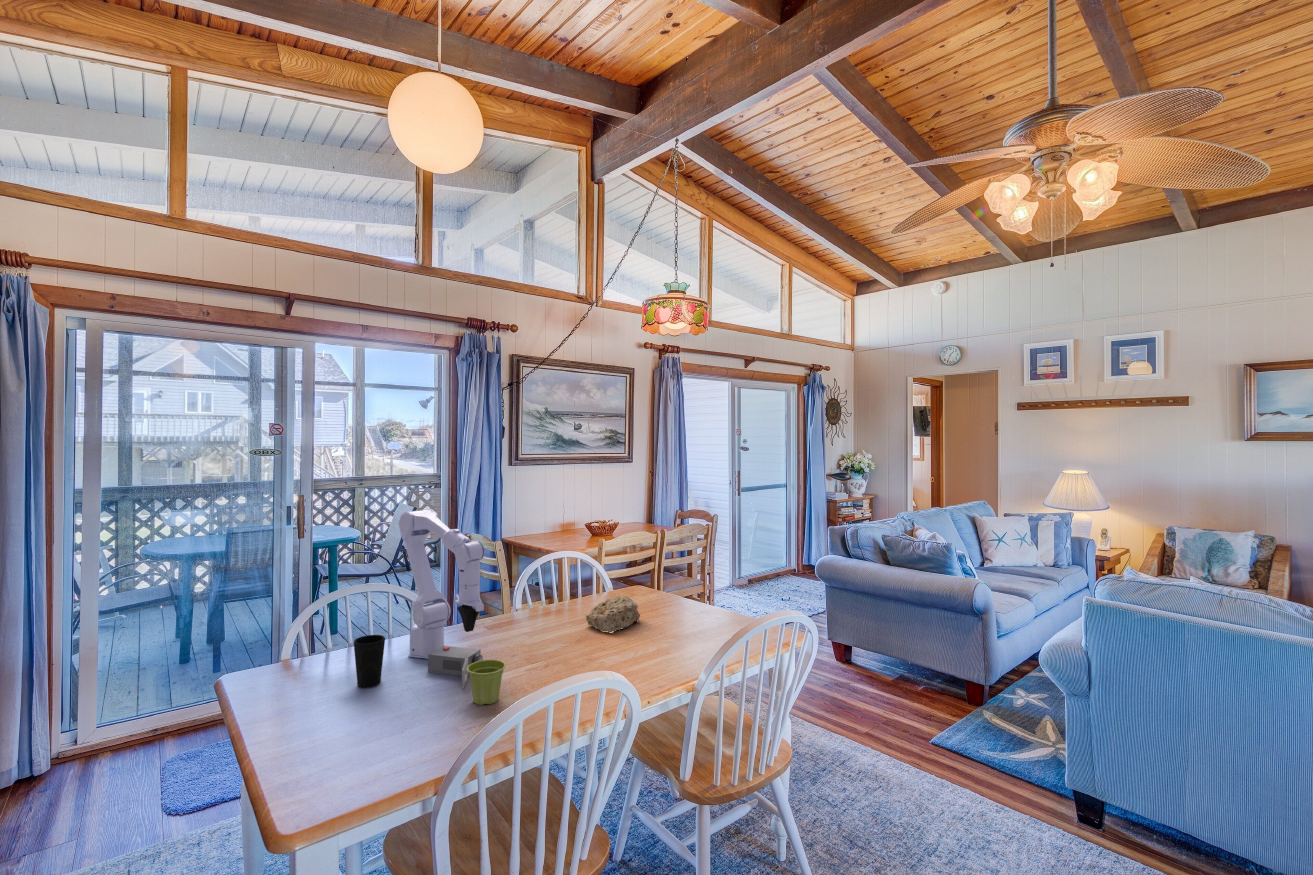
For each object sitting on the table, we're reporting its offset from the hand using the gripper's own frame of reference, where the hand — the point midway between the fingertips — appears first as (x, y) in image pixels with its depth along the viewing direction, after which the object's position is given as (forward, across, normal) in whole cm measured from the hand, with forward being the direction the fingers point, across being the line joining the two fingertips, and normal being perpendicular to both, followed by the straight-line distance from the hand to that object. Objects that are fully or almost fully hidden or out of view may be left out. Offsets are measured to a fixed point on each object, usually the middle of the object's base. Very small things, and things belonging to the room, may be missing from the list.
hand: (468, 630), depth 180 cm
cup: (+11, -5, -26) cm, 28 cm away
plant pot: (+11, +24, -6) cm, 27 cm away
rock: (+11, -6, +57) cm, 58 cm away
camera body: (+10, -1, -4) cm, 11 cm away
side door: (+10, +11, -6) cm, 16 cm away
